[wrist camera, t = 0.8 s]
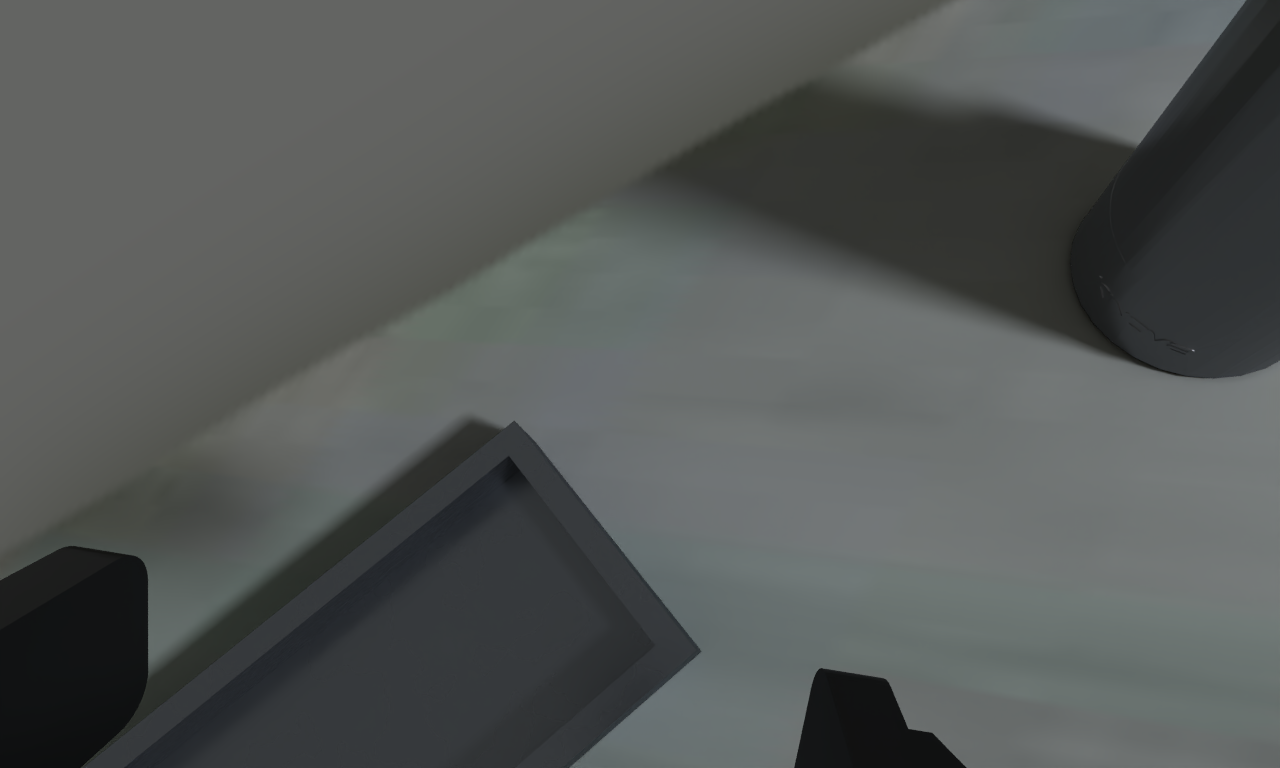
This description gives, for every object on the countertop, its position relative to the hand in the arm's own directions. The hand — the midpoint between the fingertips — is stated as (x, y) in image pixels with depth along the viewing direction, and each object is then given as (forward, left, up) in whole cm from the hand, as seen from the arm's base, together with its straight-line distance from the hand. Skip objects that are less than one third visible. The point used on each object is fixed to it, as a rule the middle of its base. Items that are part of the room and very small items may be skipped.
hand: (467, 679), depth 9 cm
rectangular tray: (+10, -5, -22) cm, 24 cm away
